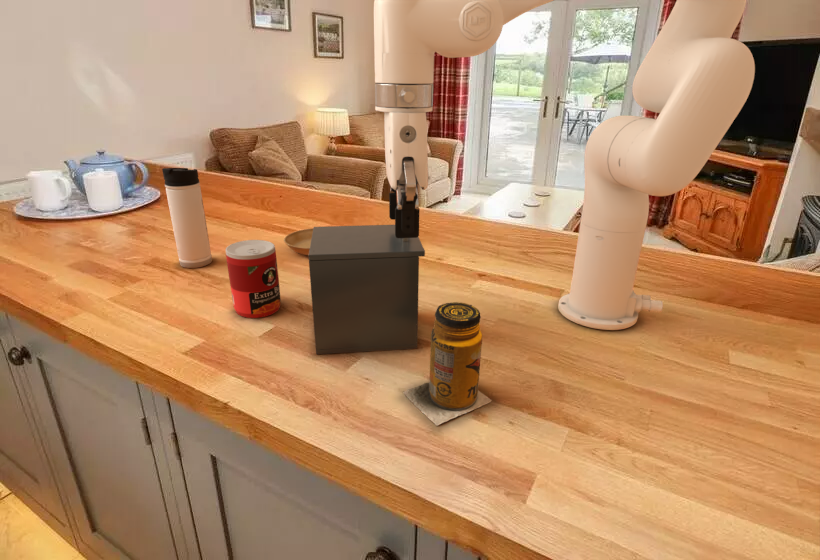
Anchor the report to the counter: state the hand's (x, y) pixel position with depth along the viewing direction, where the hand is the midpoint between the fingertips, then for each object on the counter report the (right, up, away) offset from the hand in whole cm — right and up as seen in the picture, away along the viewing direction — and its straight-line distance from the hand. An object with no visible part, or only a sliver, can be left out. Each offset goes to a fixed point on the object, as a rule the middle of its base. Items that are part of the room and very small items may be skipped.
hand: (403, 227), depth 71 cm
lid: (-5, -2, 0) cm, 6 cm away
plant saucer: (-20, -1, +41) cm, 45 cm away
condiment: (+6, -23, -10) cm, 25 cm away
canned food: (-25, -13, +13) cm, 31 cm away
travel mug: (-44, -4, +32) cm, 54 cm away
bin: (-6, -16, +6) cm, 18 cm away
